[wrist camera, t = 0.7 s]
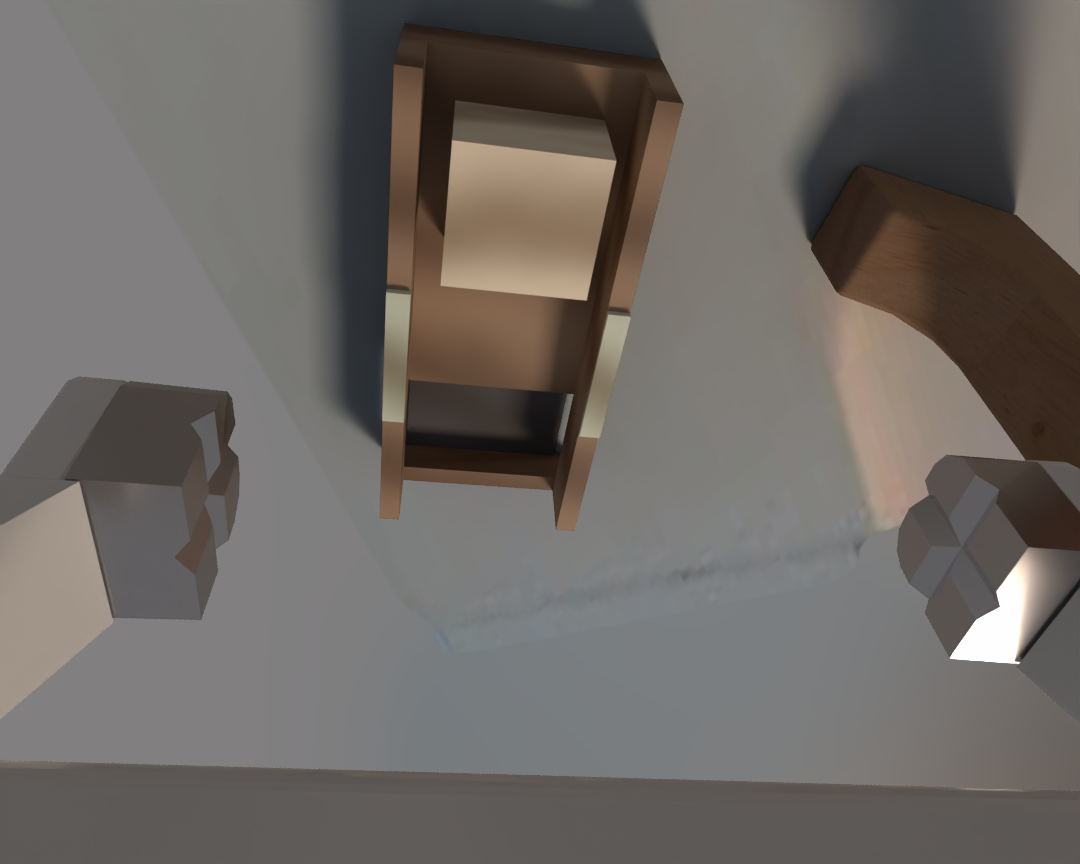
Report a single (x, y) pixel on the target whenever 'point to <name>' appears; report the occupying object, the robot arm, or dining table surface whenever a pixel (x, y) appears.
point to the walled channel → (498, 317)
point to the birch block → (525, 200)
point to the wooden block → (968, 298)
